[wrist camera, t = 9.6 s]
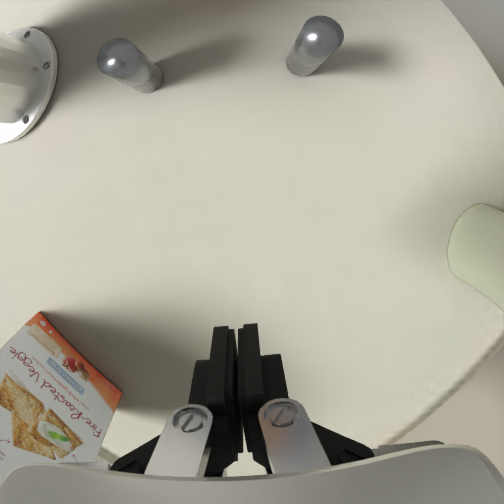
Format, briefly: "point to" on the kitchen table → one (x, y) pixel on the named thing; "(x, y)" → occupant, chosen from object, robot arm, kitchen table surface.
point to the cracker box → (50, 400)
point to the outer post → (314, 45)
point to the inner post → (129, 65)
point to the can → (479, 251)
